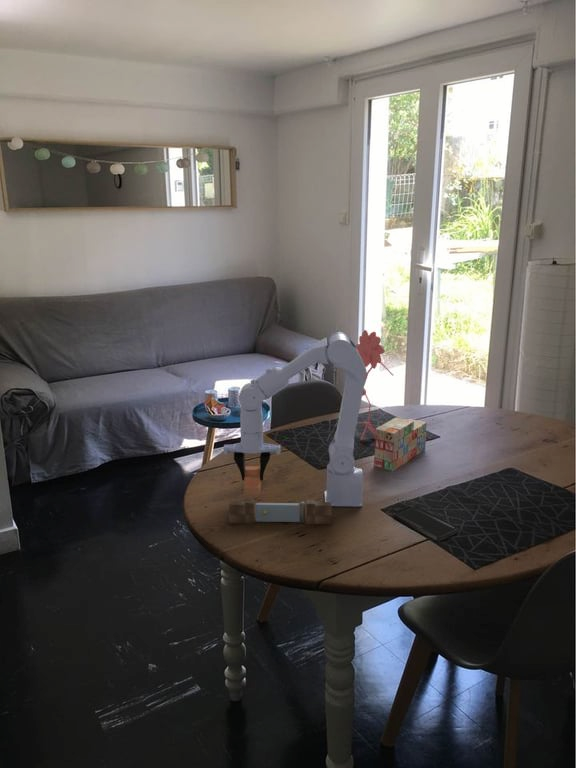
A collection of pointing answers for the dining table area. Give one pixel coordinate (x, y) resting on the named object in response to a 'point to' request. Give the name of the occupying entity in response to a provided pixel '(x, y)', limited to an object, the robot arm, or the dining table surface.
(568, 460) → the dining table surface
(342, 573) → the dining table surface
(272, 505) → the door
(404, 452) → the stack of blocks
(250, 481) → the orange block
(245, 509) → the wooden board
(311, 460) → the dining table surface
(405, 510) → the phone
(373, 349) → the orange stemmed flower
